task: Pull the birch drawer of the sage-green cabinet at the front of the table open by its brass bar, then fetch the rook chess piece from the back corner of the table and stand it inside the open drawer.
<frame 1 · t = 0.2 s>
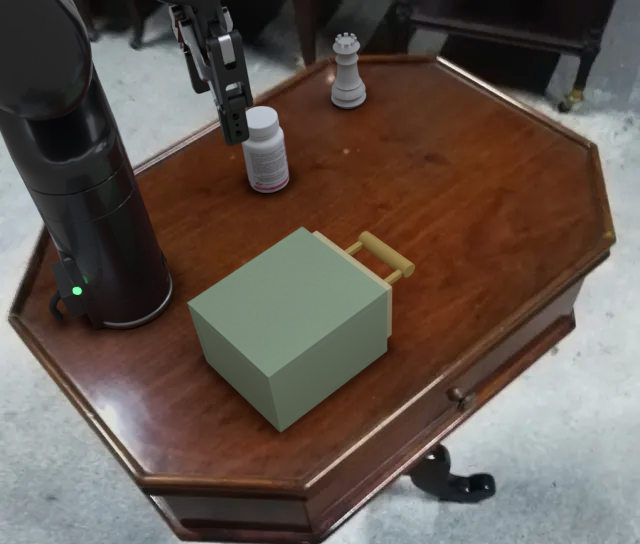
hand: (221, 114, 67), 17 cm above the table, tool pointing down, fingers open, 8 cm apart
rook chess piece: (348, 101, 95), on the table
cabinet: (296, 356, 73), on the table
pill bottle: (269, 182, 88), on the table
drawer: (325, 303, 71), point 4 cm above the table, slide at 0.0 cm, touching cabinet
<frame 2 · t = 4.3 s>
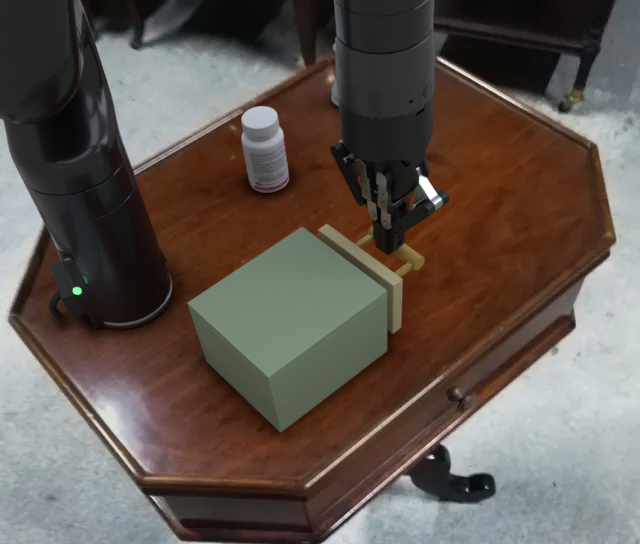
hand: (389, 247, 72), 6 cm above the table, tool pointing down, fingers closed
drawer: (335, 296, 71), point 4 cm above the table, slide at 1.3 cm, touching gripper
everything else where it was.
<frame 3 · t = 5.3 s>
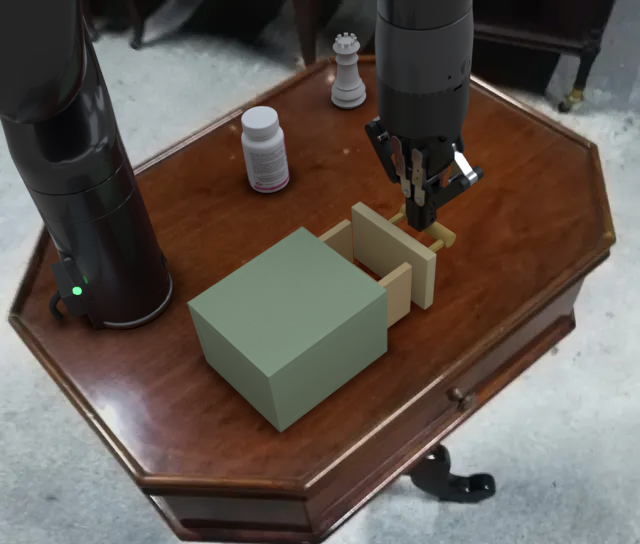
hand: (420, 224, 73), 6 cm above the table, tool pointing down, fingers closed
drawer: (368, 272, 73), point 4 cm above the table, slide at 5.7 cm, touching gripper
everything else where it was.
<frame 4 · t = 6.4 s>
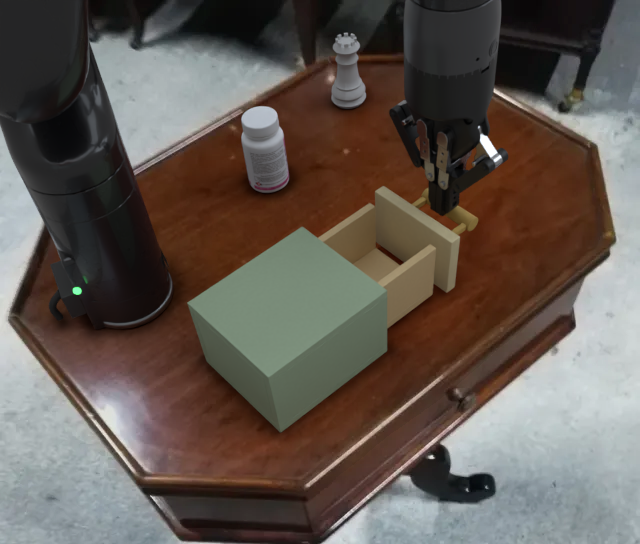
hand: (443, 208, 74), 6 cm above the table, tool pointing down, fingers closed
drawer: (392, 255, 74), point 4 cm above the table, slide at 8.8 cm, touching gripper
everything else where it was.
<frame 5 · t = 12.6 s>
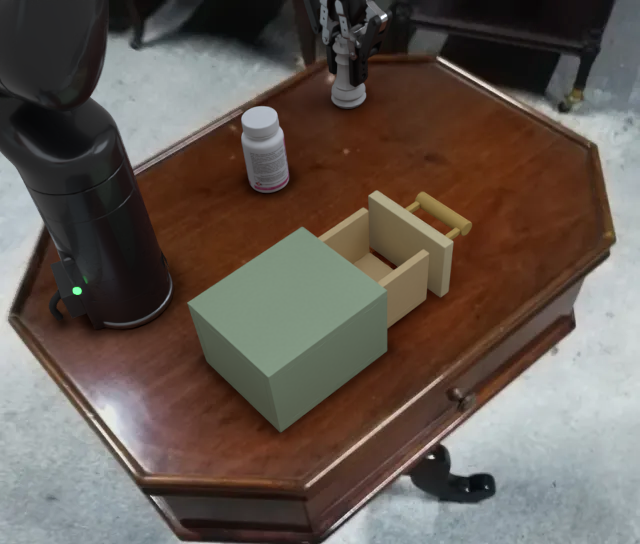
hand: (347, 76, 92), 3 cm above the table, tool pointing down, fingers closed on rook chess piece, 3 cm apart
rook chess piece: (348, 101, 95), on the table, touching gripper
drawer: (385, 260, 73), point 4 cm above the table, slide at 7.9 cm
everything else where it was.
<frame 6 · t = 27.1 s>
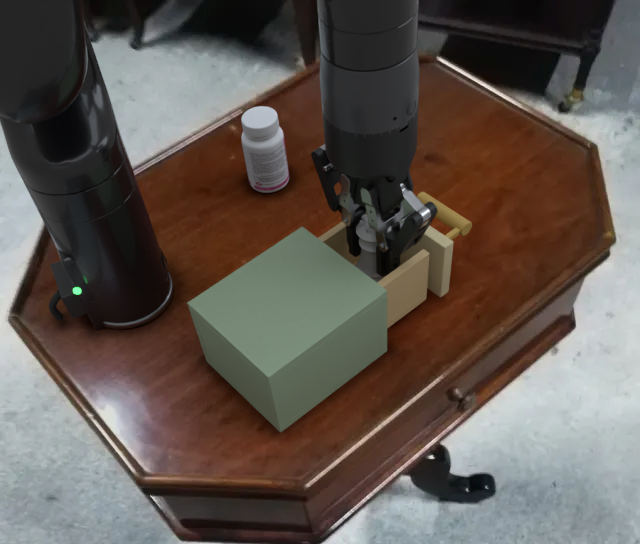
hand: (373, 260, 72), 5 cm above the table, tool pointing down, fingers closed on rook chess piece, 3 cm apart
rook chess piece: (374, 283, 75), point 2 cm above the table, touching gripper
drawer: (385, 260, 73), point 4 cm above the table, slide at 8.0 cm, touching gripper
everything else where it was.
when the fingers open (8 cm above the table, at t = 30.6 s): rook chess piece drops 3 cm, resting on drawer.
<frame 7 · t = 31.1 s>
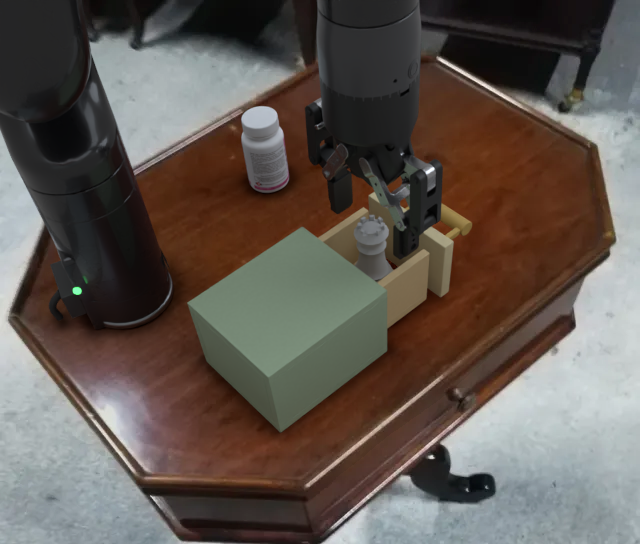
hand: (372, 230, 69), 9 cm above the table, tool pointing down, fingers open, 8 cm apart
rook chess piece: (372, 286, 75), point 2 cm above the table, touching drawer
drawer: (385, 260, 73), point 4 cm above the table, slide at 8.0 cm, touching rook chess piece
everything else where it was.
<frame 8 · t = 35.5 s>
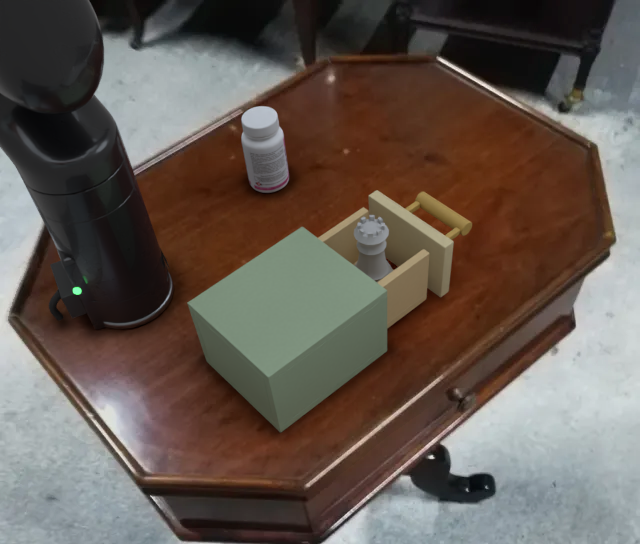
nothing on the table moved.
at the end: drawer slide at 8.0 cm; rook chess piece inside the target area in the drawer (0.1 cm from its centre), point 1.8 cm above the cabinet's base; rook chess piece tilted 0° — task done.
